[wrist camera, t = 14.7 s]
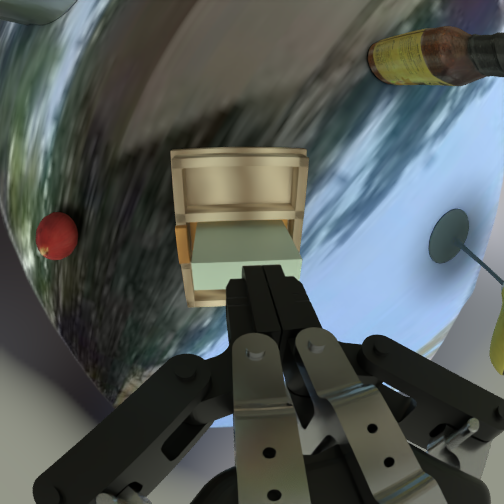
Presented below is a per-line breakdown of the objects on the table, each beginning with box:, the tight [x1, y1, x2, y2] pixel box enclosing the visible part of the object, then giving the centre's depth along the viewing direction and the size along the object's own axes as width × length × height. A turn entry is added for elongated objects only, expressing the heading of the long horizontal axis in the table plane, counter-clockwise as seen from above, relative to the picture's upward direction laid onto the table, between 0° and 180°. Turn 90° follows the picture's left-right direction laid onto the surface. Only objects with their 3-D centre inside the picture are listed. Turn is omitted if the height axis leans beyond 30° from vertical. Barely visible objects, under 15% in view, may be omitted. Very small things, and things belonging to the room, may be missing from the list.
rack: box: [171, 147, 309, 307], centre depth 32 cm, size 15×20×4 cm
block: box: [191, 220, 302, 290], centre depth 29 cm, size 10×3×9 cm, turn 88°
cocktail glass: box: [429, 209, 504, 375], centre depth 28 cm, size 18×18×25 cm
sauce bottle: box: [368, 26, 504, 86], centre depth 16 cm, size 6×6×20 cm
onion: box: [36, 212, 78, 260], centre depth 27 cm, size 6×6×8 cm
